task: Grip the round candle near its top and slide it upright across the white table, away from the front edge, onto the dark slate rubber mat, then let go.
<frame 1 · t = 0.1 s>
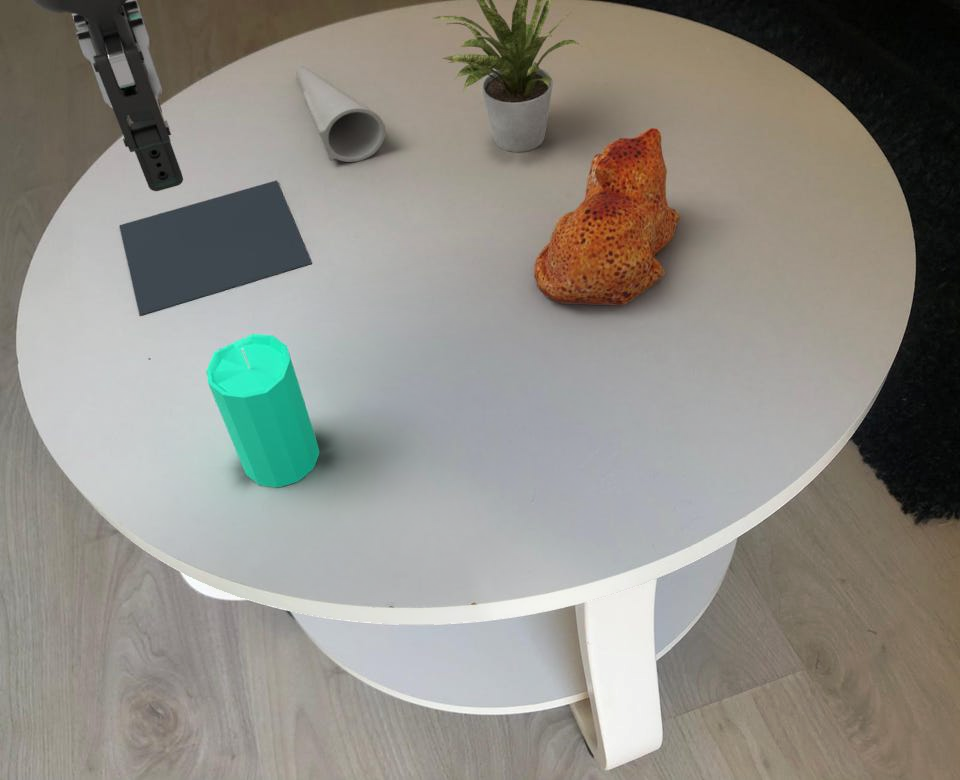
hand: (157, 150, 67), 22 cm above the table, tool pointing down, fingers open, 8 cm apart
figurine: (609, 257, 90), on the table
mat: (212, 244, 95), on the table
house plant: (515, 131, 104), on the table
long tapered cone: (338, 114, 108), on the table
candle: (281, 457, 77), on the table
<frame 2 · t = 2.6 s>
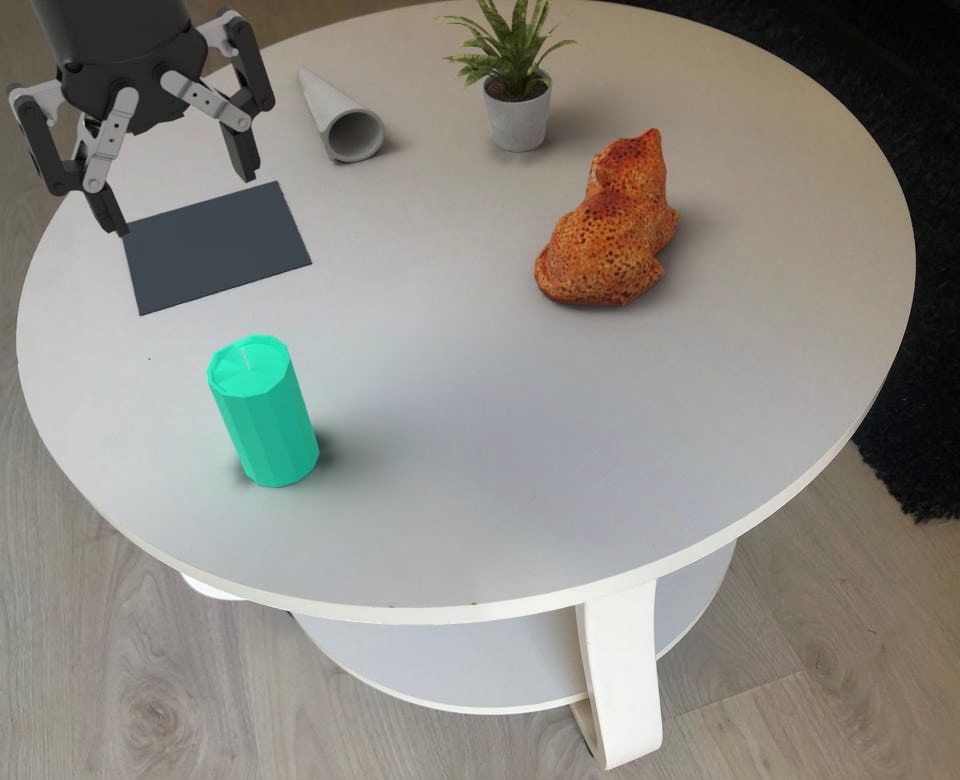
hand: (184, 202, 63), 22 cm above the table, tool pointing down, fingers open, 8 cm apart
nothing on the table moved.
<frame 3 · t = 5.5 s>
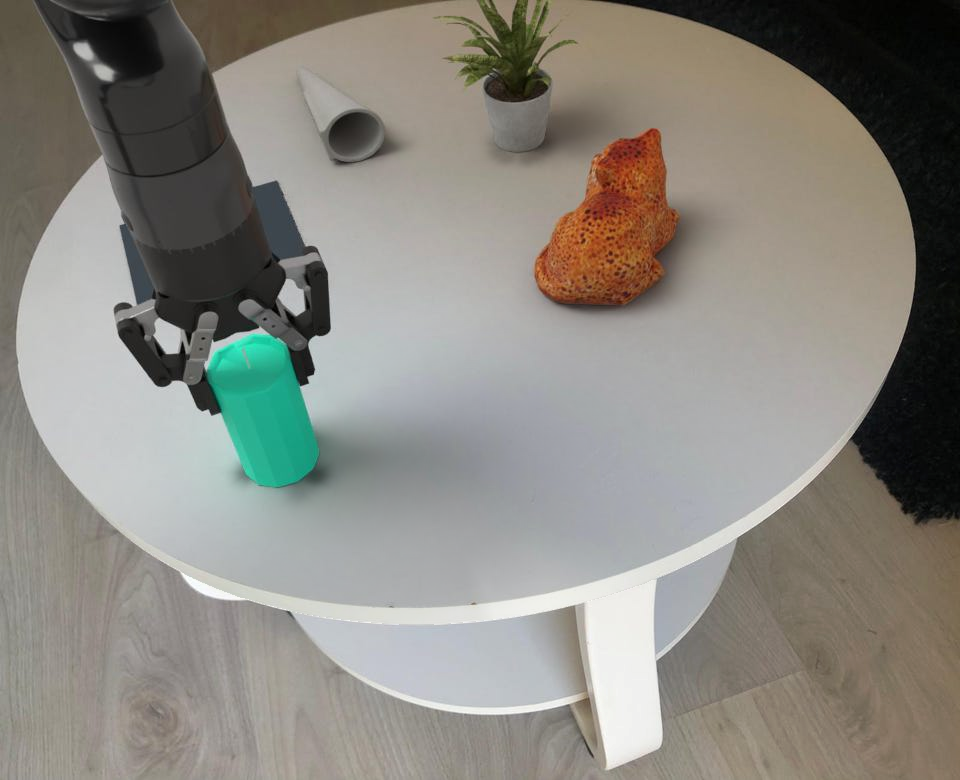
hand: (257, 391, 71), 8 cm above the table, tool pointing down, fingers closed on candle, 6 cm apart
candle: (281, 457, 77), on the table, touching gripper
everything else where it was.
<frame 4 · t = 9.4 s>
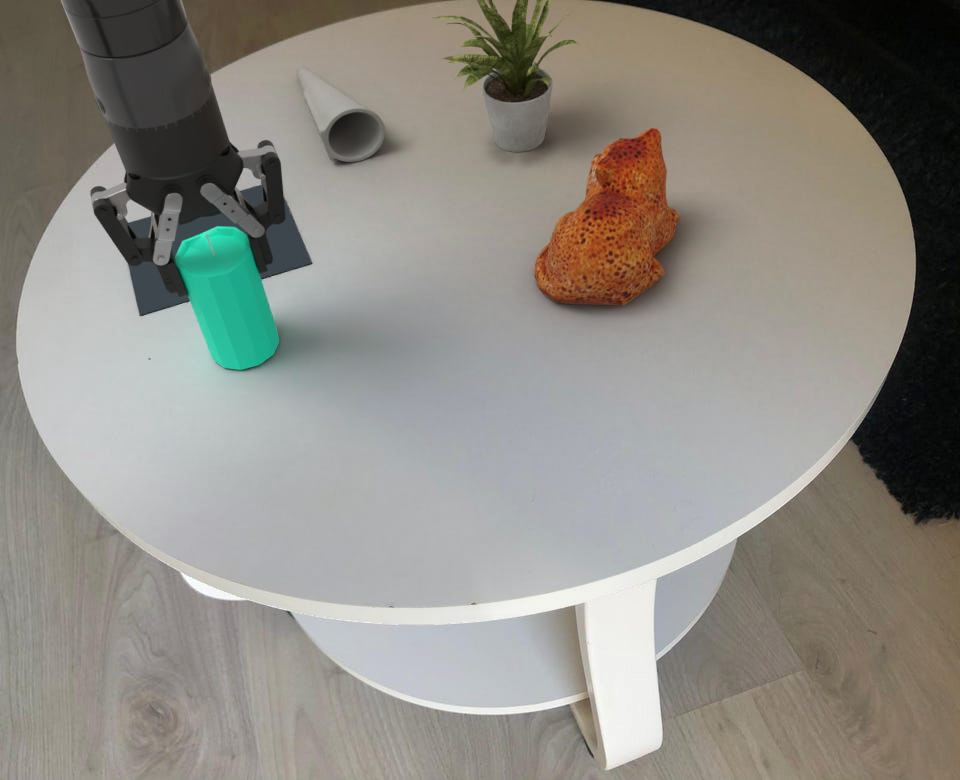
hand: (221, 278, 79), 8 cm above the table, tool pointing down, fingers closed on candle, 6 cm apart
candle: (245, 345, 85), on the table, touching gripper
everything else where it was.
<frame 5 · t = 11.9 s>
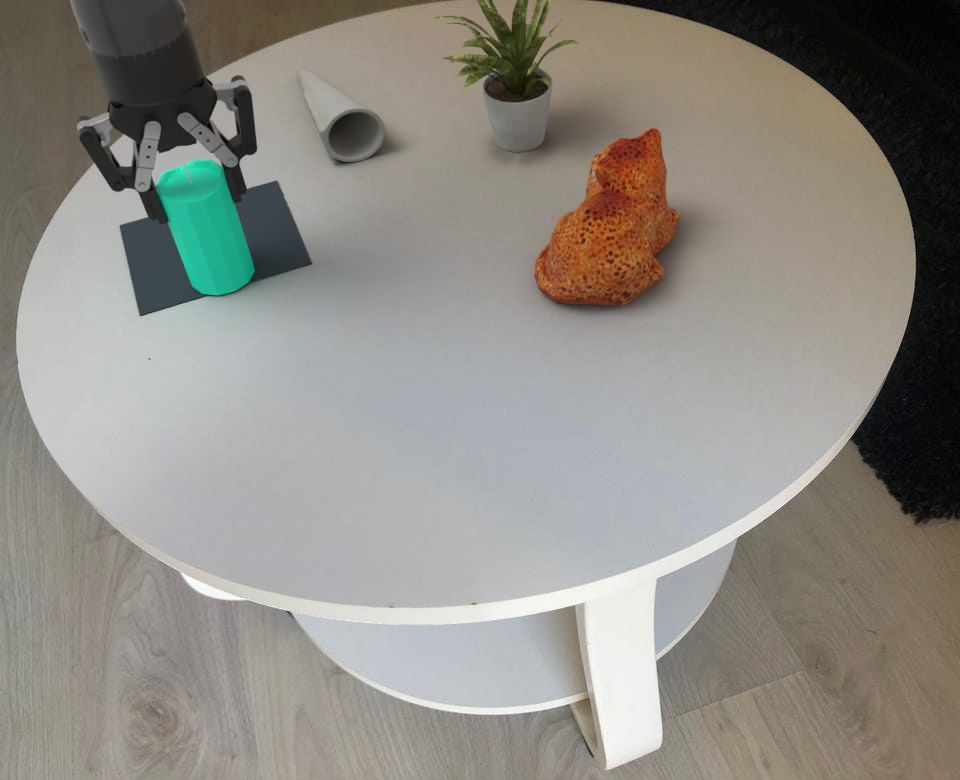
hand: (199, 207, 86), 8 cm above the table, tool pointing down, fingers closed on candle, 6 cm apart
candle: (223, 274, 92), resting on mat, touching gripper
everything else where it was.
when the fingers open (8 cm above the table, at t = 13.7 s): candle stays where it is, resting on mat.
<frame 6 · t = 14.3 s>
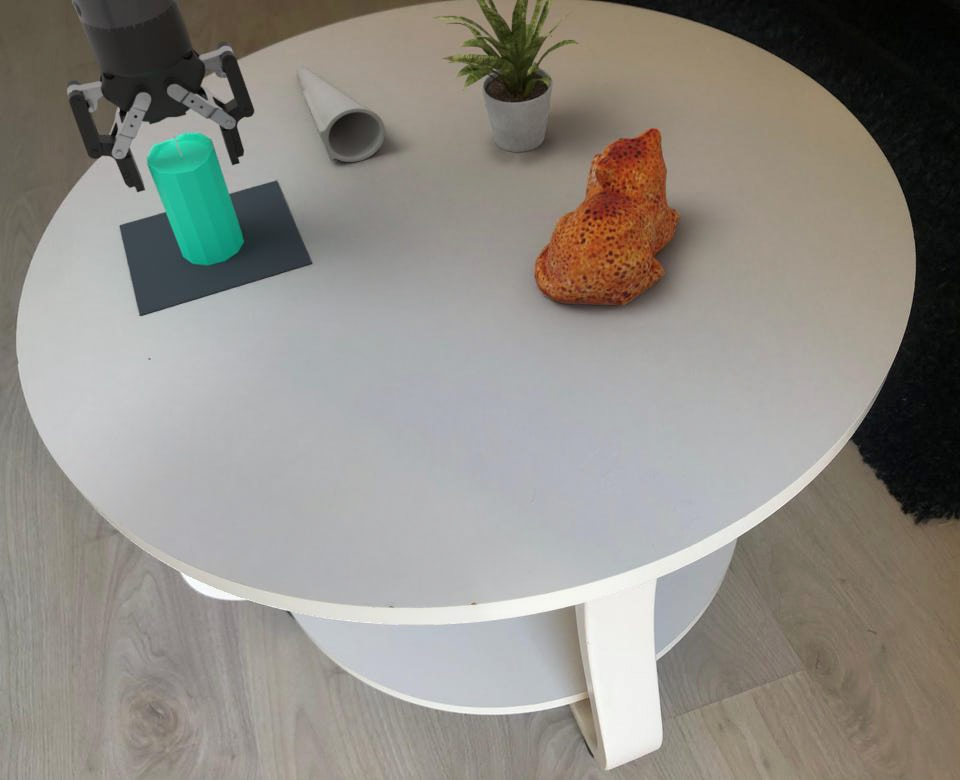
hand: (187, 173, 89), 8 cm above the table, tool pointing down, fingers open, 8 cm apart
candle: (213, 246, 95), resting on mat
everything else where it was.
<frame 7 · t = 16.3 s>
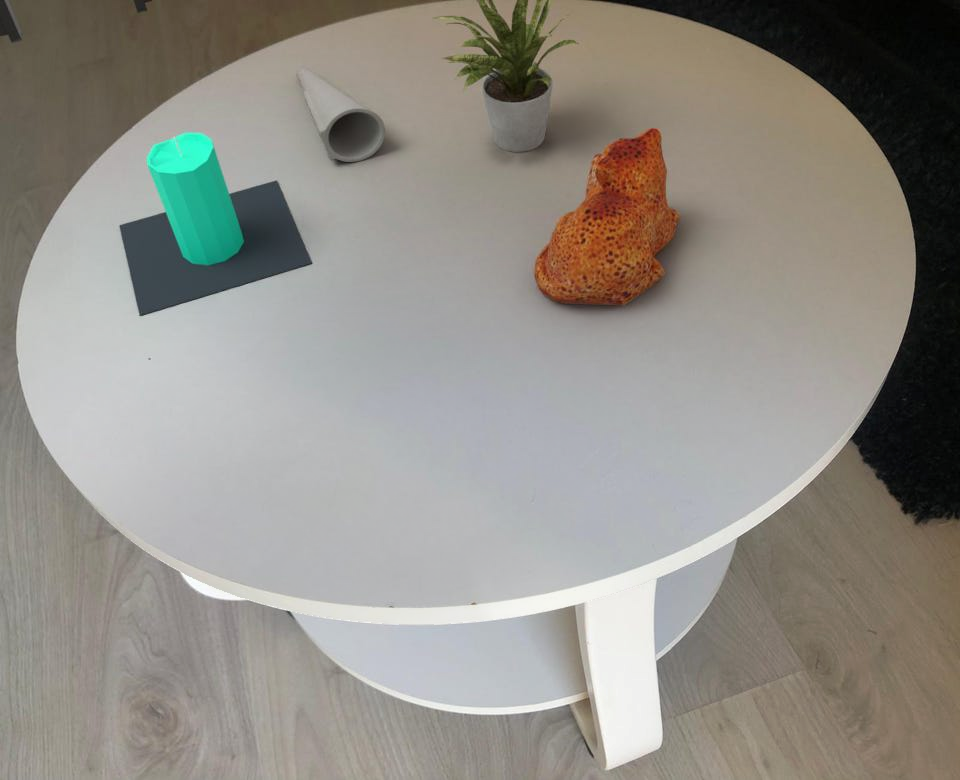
hand: (79, 22, 69), 27 cm above the table, tool pointing down, fingers open, 8 cm apart
nothing on the table moved.
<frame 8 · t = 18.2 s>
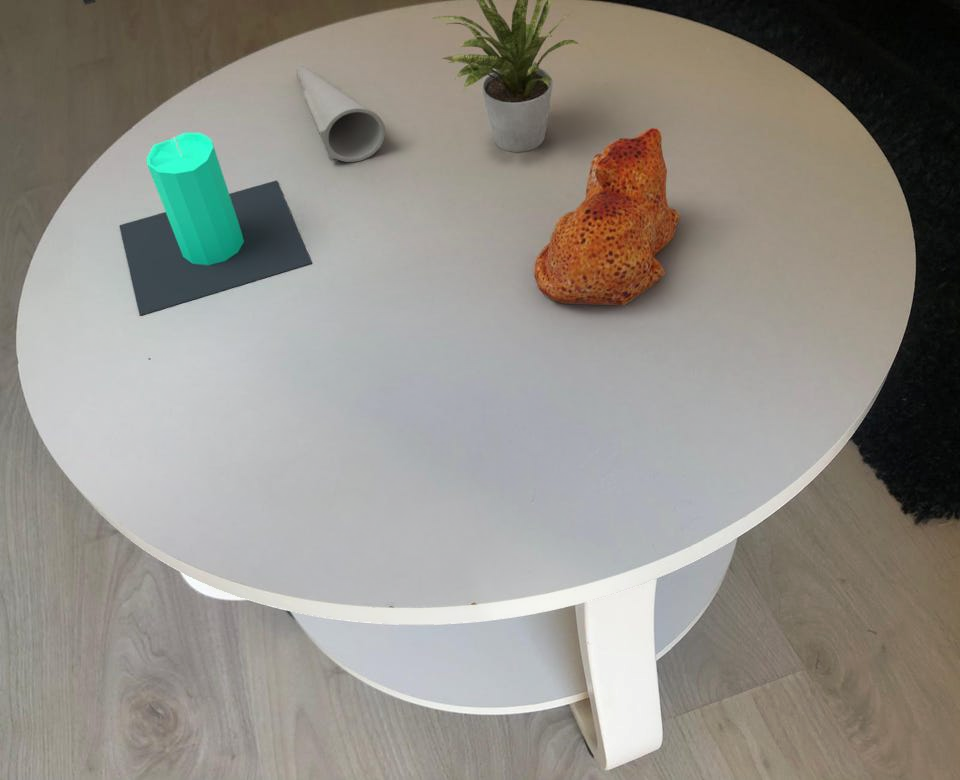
hand: (18, 16, 59), 32 cm above the table, tool pointing down, fingers open, 8 cm apart
nothing on the table moved.
at the end: candle inside the target area on the mat (0.2 cm from its centre), point 0.0 cm above the mat's base; candle tilted 0°; candle moved 27.8 cm from its start; the gripper is holding nothing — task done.
